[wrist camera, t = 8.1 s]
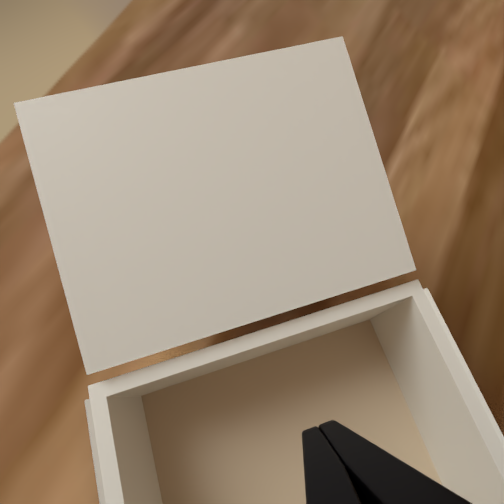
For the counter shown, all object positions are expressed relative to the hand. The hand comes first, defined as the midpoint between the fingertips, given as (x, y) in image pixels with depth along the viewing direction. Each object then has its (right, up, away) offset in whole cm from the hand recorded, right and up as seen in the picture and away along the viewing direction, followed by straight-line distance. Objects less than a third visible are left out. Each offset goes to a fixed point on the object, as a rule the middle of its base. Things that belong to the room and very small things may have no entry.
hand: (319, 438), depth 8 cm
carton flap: (-1, +2, +4) cm, 4 cm away
